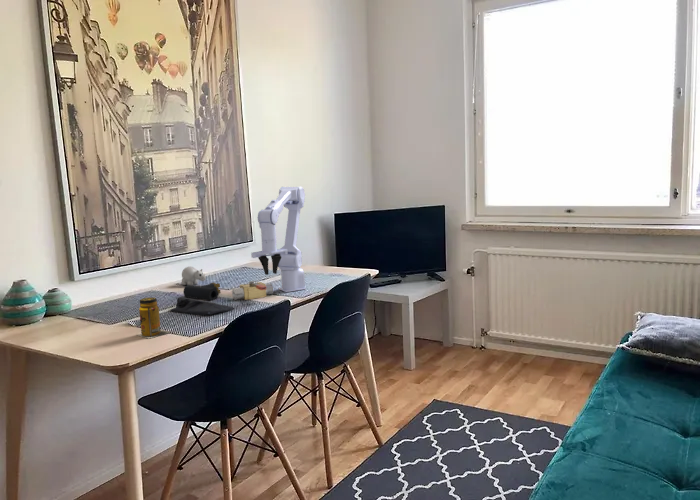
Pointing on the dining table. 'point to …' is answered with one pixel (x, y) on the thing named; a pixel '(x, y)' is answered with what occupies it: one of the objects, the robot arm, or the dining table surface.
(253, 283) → the lever
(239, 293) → the valve
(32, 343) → the dining table surface
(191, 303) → the dark slate chunk
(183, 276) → the chubby cartoon animal
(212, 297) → the pipe connector
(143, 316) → the condiment
